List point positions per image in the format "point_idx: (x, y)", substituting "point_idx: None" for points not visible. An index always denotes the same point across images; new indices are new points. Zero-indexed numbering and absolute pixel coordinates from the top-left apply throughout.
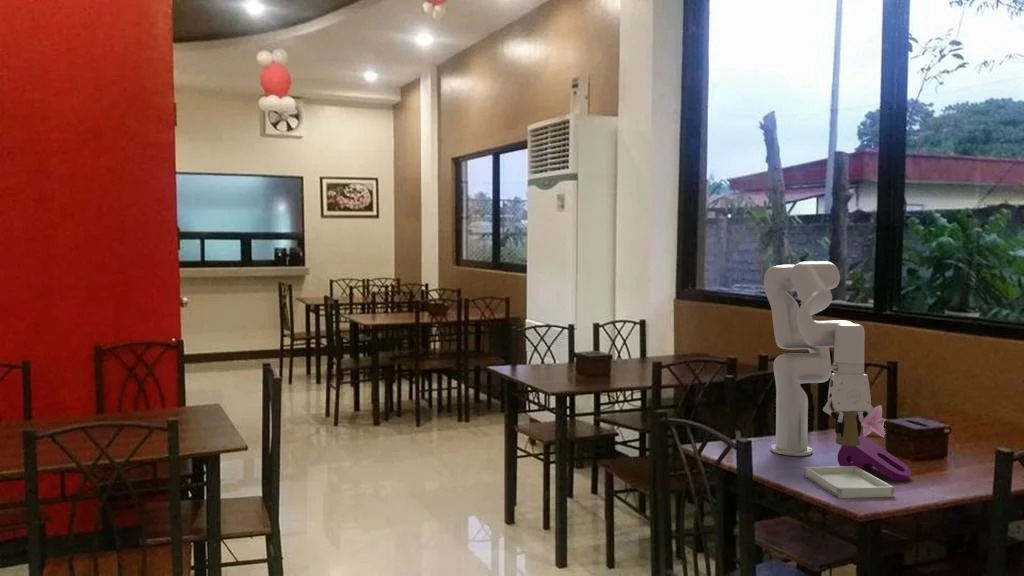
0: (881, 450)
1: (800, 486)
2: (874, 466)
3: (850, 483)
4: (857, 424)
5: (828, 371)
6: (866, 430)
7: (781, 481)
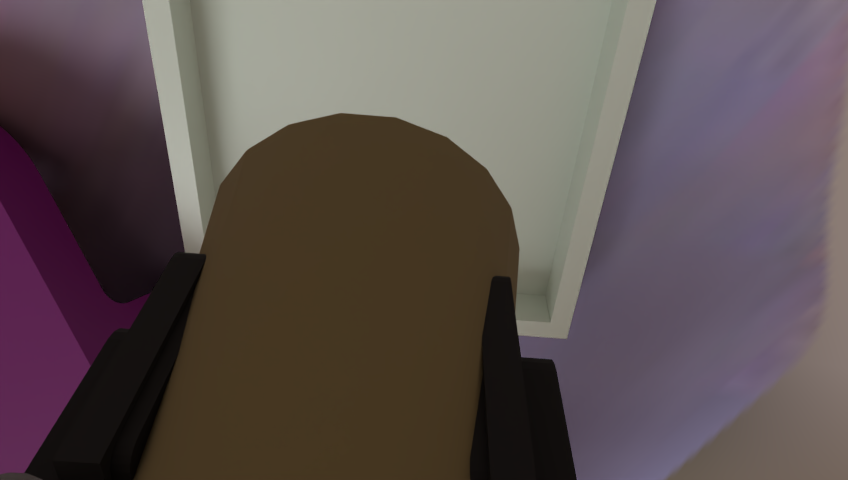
0: None
1: (760, 101)
2: (72, 244)
3: (380, 48)
4: (144, 431)
5: None
6: None
7: (798, 222)
